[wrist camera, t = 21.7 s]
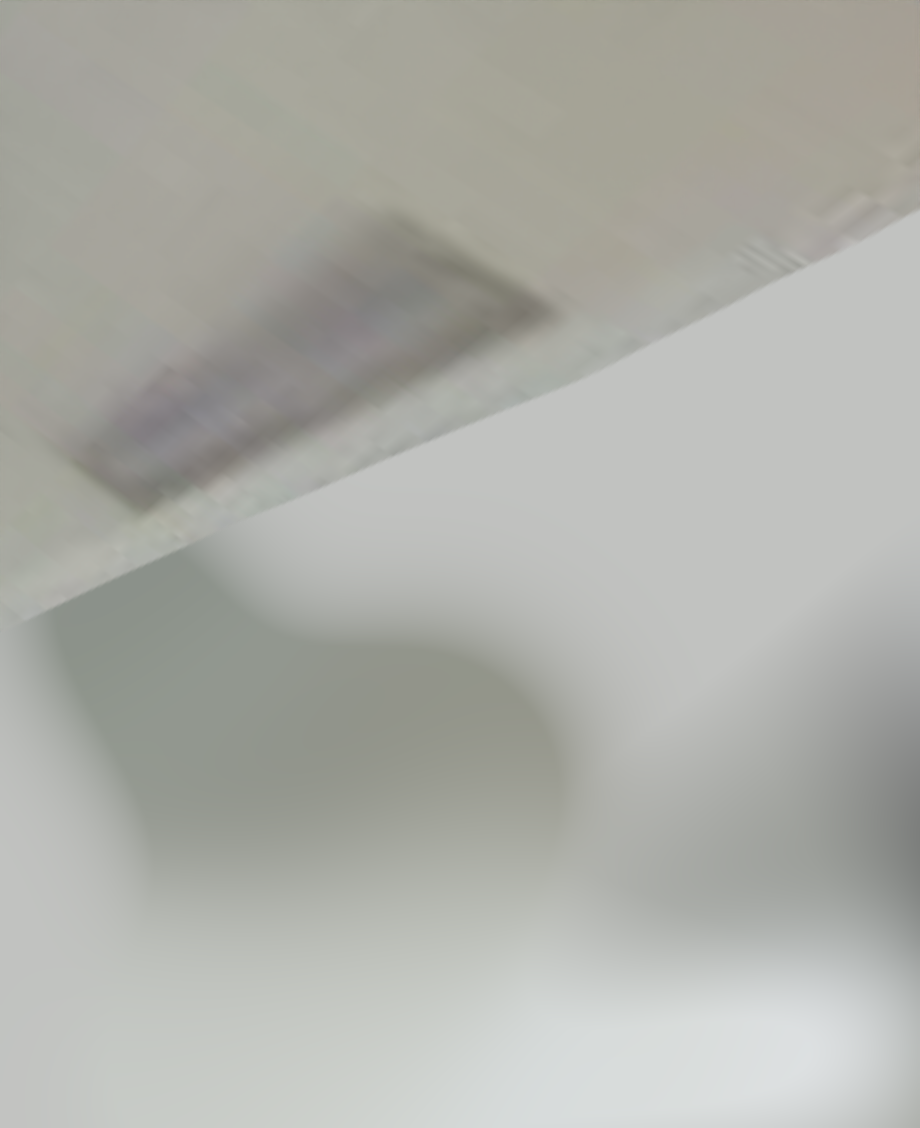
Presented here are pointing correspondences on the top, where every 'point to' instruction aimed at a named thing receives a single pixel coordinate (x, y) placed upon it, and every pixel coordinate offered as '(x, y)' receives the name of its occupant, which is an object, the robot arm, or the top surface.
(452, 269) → the top surface
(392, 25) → the top surface
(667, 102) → the top surface
